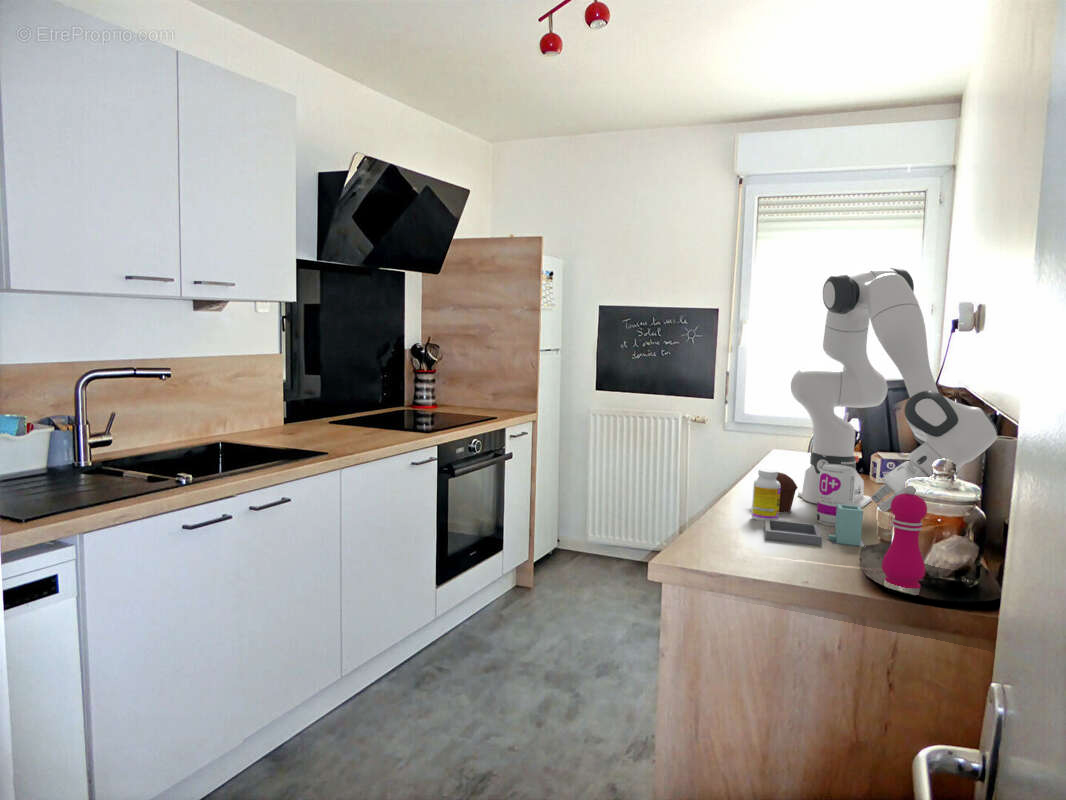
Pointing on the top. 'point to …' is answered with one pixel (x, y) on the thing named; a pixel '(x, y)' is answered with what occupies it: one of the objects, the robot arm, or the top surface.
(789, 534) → the tray
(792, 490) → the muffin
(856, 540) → the collar
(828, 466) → the supplement can
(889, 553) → the pepper mill
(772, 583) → the top surface
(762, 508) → the supplement bottle
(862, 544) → the square peg base
